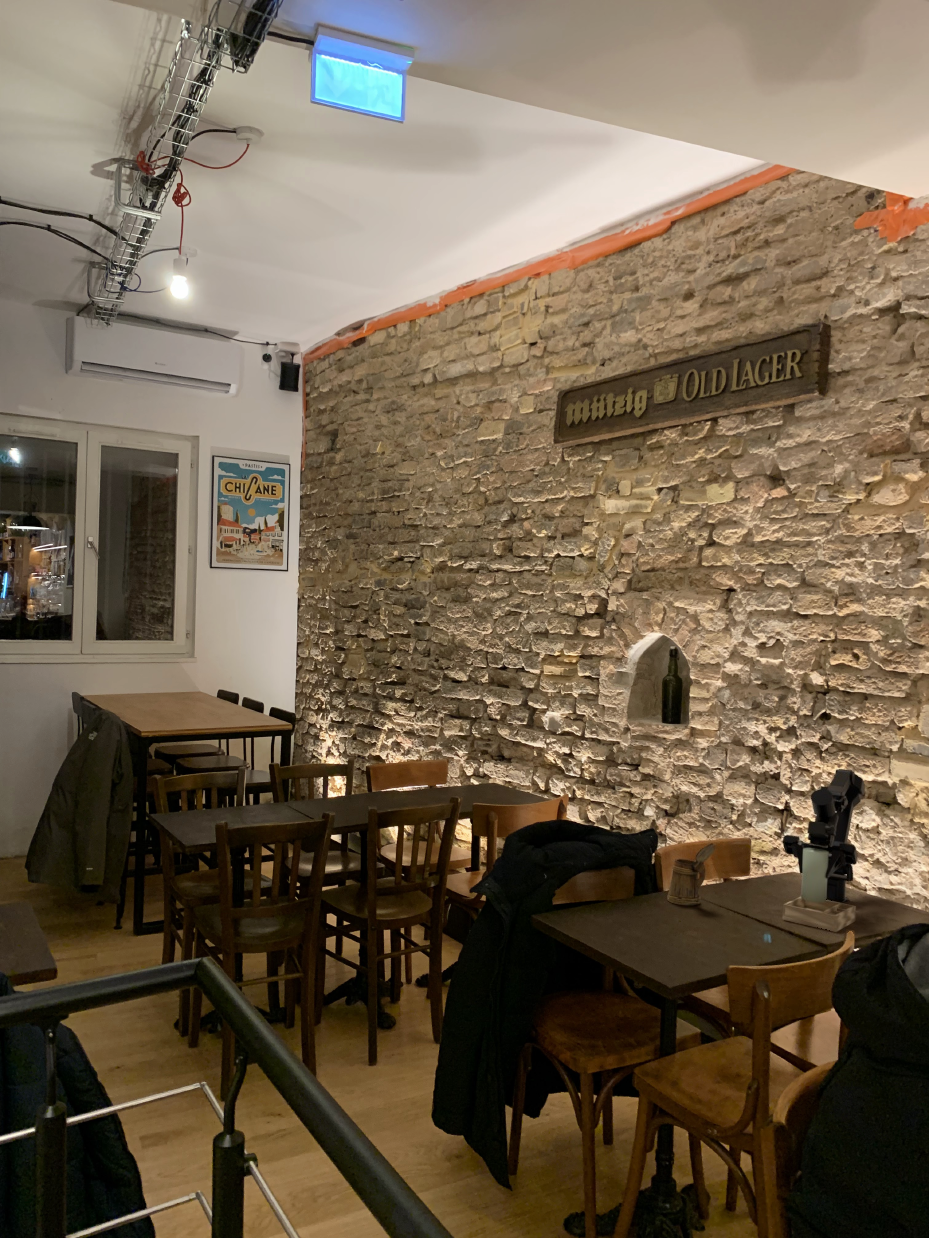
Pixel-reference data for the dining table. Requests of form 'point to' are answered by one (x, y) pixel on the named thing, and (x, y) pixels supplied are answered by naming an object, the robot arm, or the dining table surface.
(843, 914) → the tray
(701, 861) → the wooden mug
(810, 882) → the pale green cylinder
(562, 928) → the dining table surface
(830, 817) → the robot arm
